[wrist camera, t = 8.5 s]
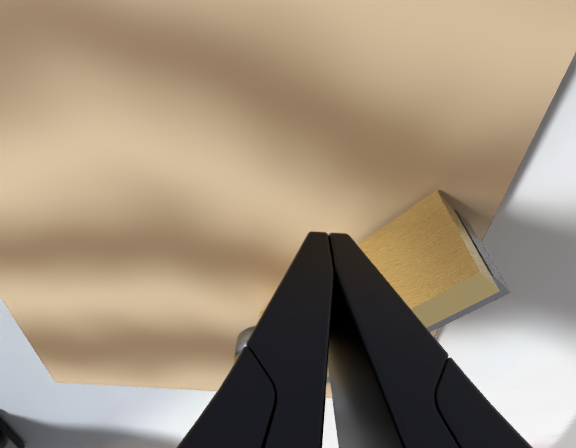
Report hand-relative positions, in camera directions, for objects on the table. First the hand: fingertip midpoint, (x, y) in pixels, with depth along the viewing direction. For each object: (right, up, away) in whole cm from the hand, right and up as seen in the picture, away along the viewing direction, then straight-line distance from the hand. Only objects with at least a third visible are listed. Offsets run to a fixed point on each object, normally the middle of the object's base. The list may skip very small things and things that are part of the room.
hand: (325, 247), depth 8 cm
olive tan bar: (+1, -3, +8) cm, 8 cm away
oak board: (-4, -1, +8) cm, 9 cm away
